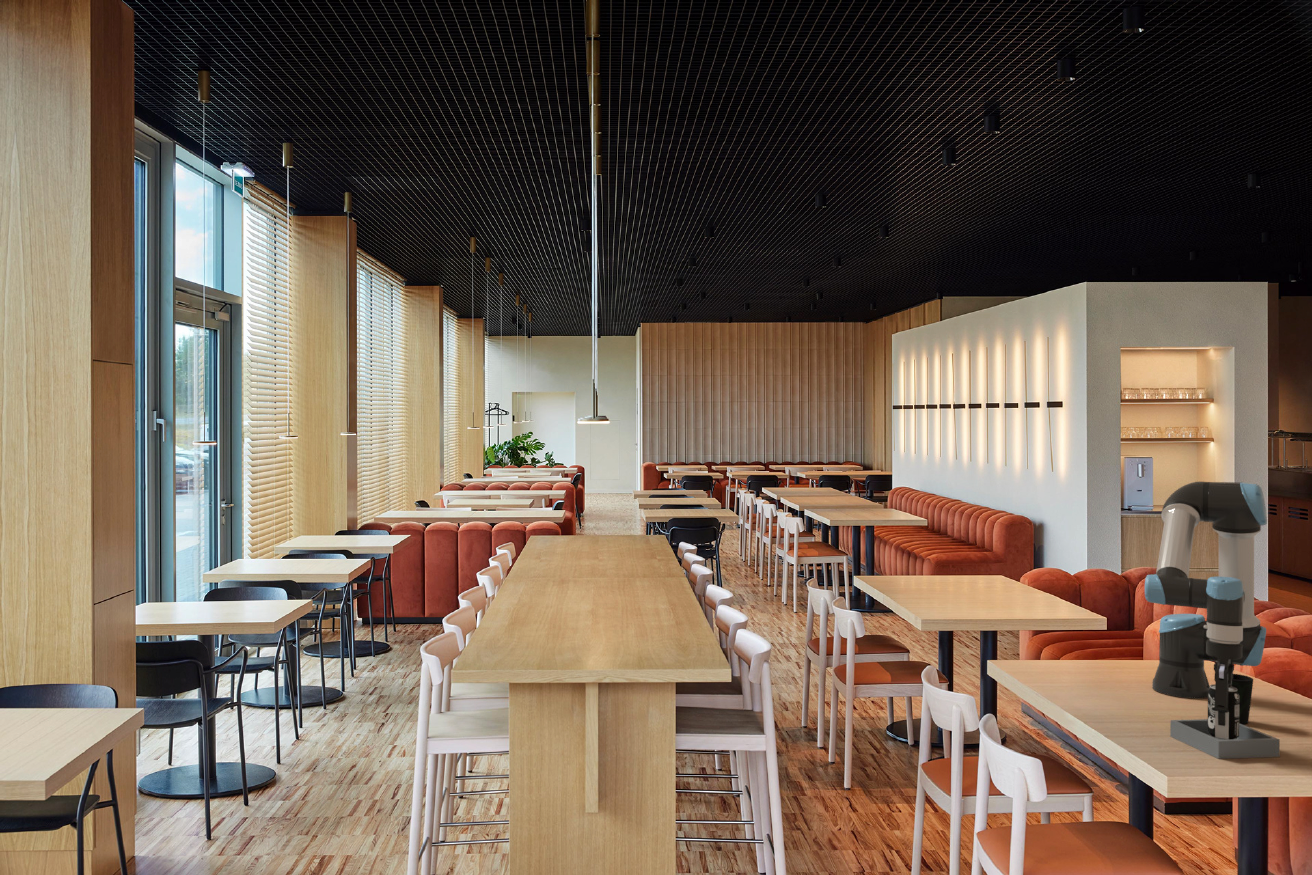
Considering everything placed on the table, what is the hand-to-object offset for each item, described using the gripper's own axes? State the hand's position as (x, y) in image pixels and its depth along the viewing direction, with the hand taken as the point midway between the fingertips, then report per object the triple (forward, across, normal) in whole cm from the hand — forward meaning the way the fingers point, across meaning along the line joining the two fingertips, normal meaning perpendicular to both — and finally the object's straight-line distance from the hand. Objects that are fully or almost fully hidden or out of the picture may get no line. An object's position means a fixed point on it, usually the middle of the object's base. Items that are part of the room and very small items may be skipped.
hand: (1223, 733), depth 216 cm
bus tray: (+3, 0, 0) cm, 3 cm away
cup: (+3, -26, +1) cm, 26 cm away
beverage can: (+1, 0, 0) cm, 1 cm away
